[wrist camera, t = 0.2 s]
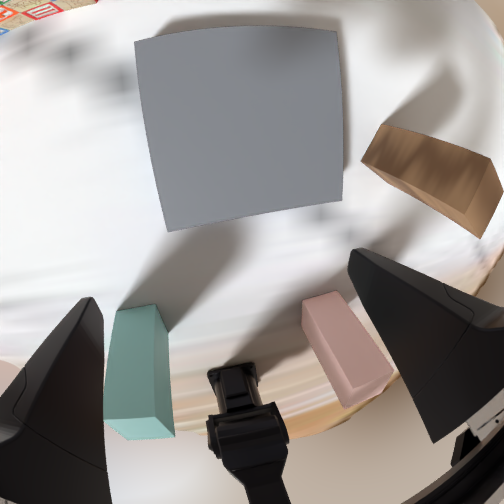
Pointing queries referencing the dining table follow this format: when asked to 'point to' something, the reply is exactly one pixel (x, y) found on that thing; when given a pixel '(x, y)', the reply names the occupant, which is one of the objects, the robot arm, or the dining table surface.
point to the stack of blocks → (33, 10)
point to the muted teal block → (139, 376)
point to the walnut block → (437, 175)
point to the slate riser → (242, 120)
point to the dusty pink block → (344, 349)
